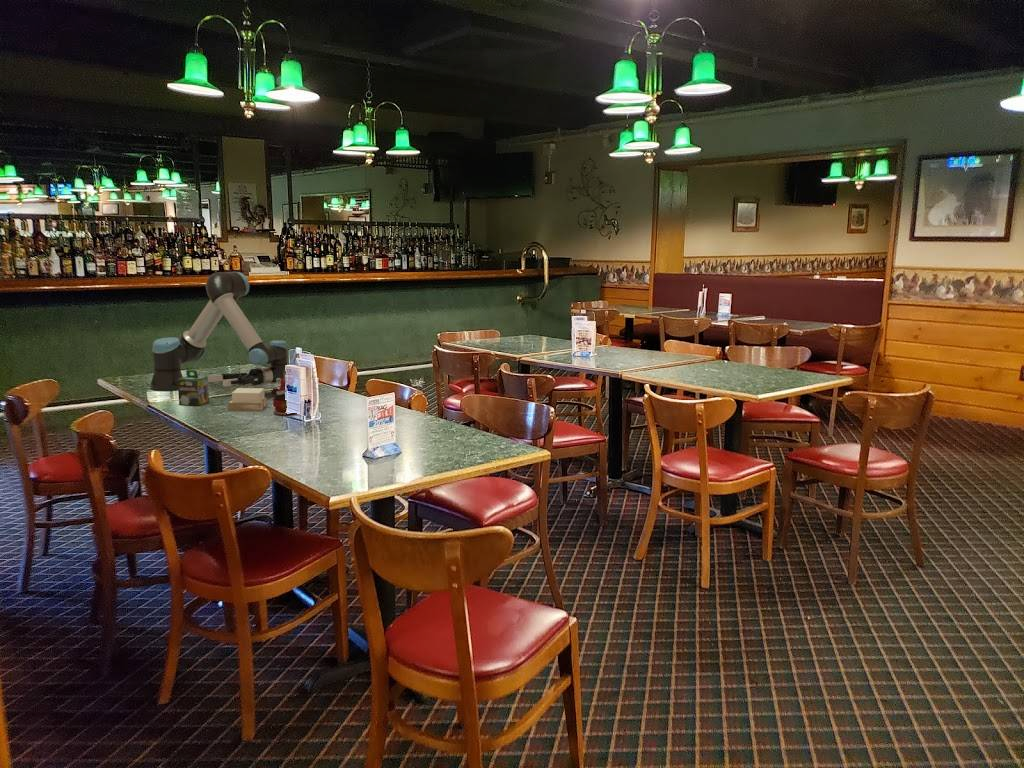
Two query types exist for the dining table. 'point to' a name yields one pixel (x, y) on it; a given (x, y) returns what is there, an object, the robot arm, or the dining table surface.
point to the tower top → (248, 395)
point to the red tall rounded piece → (279, 397)
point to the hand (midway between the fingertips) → (215, 381)
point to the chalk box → (193, 389)
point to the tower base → (247, 405)
